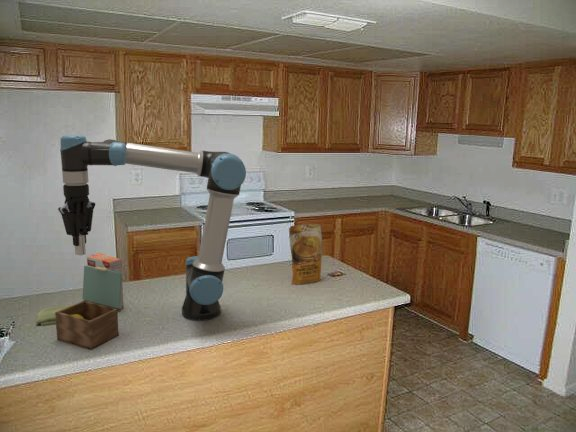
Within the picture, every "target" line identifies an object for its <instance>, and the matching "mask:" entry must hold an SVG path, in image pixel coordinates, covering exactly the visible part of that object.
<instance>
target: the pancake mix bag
mask: <svg viewBox="0 0 576 432" xmlns="http://www.w3.org/2000/svg"><path fill="white" fill-rule="evenodd" d="M322 233H323V232H322V224H320V223H319V222H316V223H314V222H313V223H306V224H305V223H303V224H296V225H291V226H290V227H289V228H288V236H289V237H288V238H289V247H290V254H291V255H290V256H291V269H292V279H291V285H296V284H297V285H296V286H299V285H298V284H300V285H306V284H305V283H308V284H312V283H311V282H314V283H318V282H317V281H320V279H321V280H322V277H321V274H322V259H323V235H322Z"/></svg>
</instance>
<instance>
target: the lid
mask: <svg viewBox="0 0 576 432" xmlns="http://www.w3.org/2000/svg"><path fill="white" fill-rule="evenodd" d="M121 284H122V285H123V272H122V273H120V272H115V271H110V270H109V269H107V268H102V267H91V266H88V265H84V266H83V284H82V286H83V287H82V301H84V300H86V301H91V302H95V303H99V304H103V305H107V306H111V307H115V308H120V301H121Z"/></svg>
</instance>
